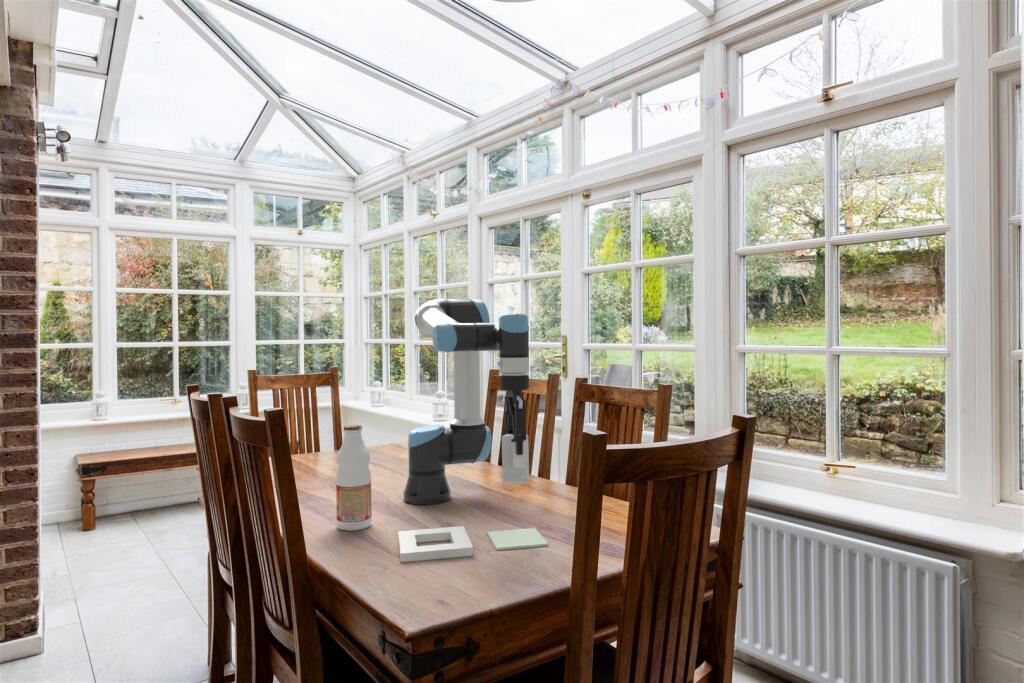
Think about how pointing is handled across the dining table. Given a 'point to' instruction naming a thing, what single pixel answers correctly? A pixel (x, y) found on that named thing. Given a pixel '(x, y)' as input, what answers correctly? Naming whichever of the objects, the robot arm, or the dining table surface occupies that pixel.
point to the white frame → (416, 553)
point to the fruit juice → (353, 482)
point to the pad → (516, 539)
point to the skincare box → (508, 471)
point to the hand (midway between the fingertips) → (515, 464)
